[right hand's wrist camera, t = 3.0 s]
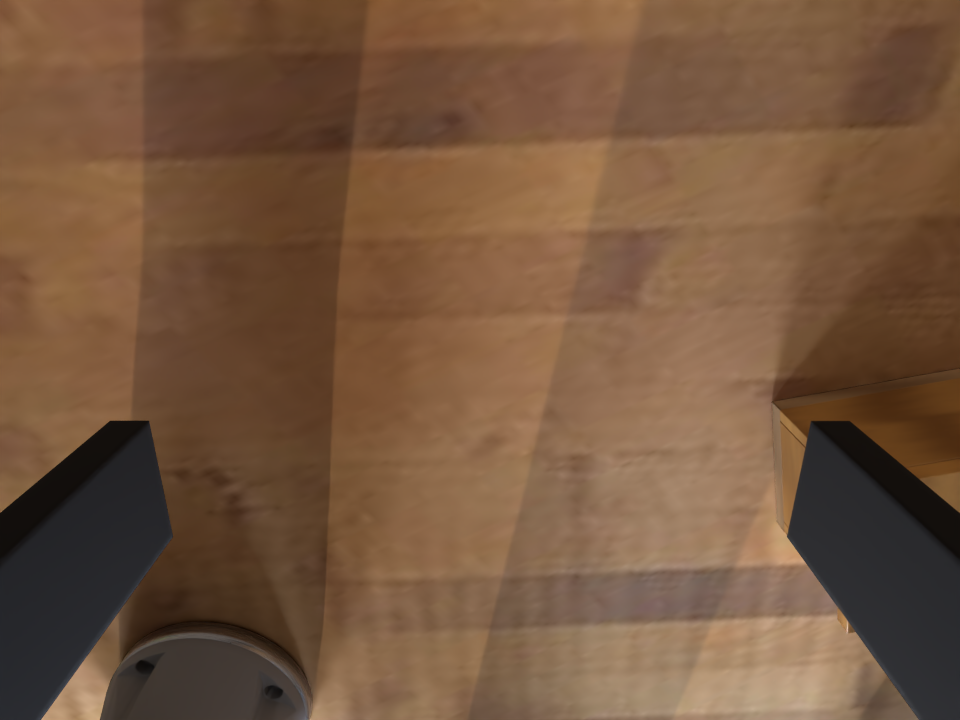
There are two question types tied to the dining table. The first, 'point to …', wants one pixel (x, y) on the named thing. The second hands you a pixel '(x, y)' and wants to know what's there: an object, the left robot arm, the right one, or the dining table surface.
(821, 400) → the chest
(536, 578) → the dining table surface
